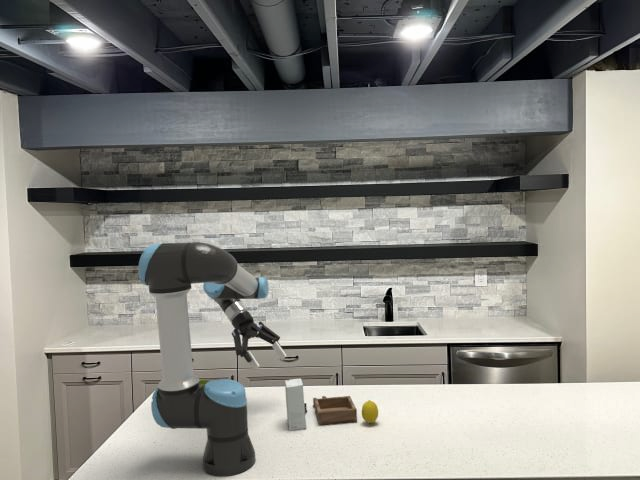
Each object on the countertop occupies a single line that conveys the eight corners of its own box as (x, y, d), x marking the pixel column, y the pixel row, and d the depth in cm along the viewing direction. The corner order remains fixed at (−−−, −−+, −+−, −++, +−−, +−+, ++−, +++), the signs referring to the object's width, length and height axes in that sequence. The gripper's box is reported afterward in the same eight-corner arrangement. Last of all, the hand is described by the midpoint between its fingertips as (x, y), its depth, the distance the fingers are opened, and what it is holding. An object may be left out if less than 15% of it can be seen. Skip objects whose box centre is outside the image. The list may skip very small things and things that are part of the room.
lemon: (382, 423, 166) (381, 399, 166) (372, 428, 162) (371, 404, 162) (368, 419, 170) (367, 396, 170) (358, 424, 166) (357, 401, 166)
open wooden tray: (357, 422, 168) (356, 409, 168) (319, 426, 166) (318, 412, 166) (350, 408, 181) (349, 395, 181) (315, 411, 179) (314, 399, 179)
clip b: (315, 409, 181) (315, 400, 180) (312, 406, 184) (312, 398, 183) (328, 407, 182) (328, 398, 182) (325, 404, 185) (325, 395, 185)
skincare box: (306, 429, 164) (304, 385, 164) (288, 431, 163) (286, 386, 163) (303, 419, 173) (301, 377, 172) (286, 421, 172) (284, 378, 171)
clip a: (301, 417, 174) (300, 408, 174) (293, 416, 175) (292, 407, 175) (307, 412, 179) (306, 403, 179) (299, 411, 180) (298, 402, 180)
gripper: (259, 316, 194) (289, 359, 186) (208, 330, 175) (239, 379, 166) (267, 304, 191) (299, 347, 182) (217, 317, 171) (250, 366, 163)
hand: (271, 363), depth 174 cm, fingers open, 13 cm apart
